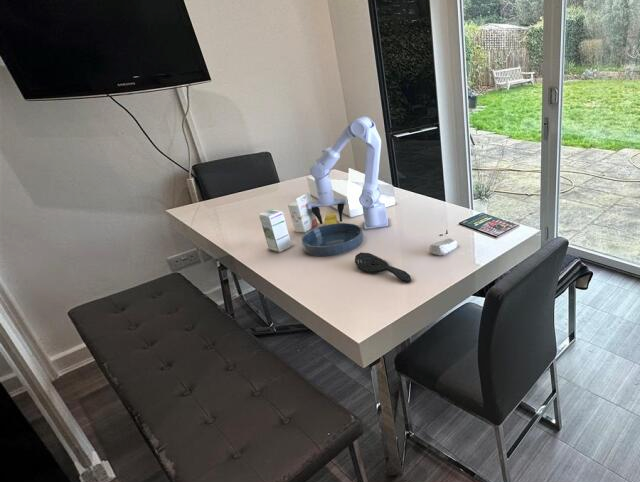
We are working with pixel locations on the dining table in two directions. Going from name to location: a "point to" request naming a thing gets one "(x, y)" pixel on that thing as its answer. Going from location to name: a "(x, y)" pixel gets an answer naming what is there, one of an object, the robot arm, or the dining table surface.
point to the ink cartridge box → (302, 214)
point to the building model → (354, 192)
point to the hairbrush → (378, 266)
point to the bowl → (332, 239)
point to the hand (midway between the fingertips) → (331, 222)
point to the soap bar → (443, 246)
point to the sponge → (330, 219)
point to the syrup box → (275, 230)
